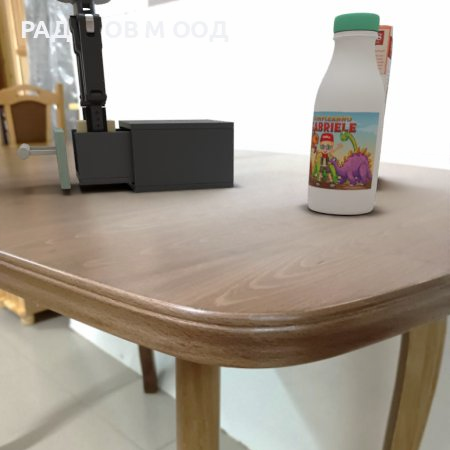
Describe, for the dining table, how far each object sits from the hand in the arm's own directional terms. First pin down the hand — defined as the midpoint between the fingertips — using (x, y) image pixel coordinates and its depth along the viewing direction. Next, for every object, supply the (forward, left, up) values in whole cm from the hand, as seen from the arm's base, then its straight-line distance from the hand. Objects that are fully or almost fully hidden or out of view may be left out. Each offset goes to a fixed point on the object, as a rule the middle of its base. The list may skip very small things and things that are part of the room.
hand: (98, 154), depth 71 cm
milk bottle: (+35, +9, -5) cm, 36 cm away
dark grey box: (+6, +10, -5) cm, 12 cm away
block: (0, 0, 0) cm, 0 cm away
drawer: (-1, -1, -4) cm, 4 cm away
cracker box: (+27, +29, -5) cm, 40 cm away
